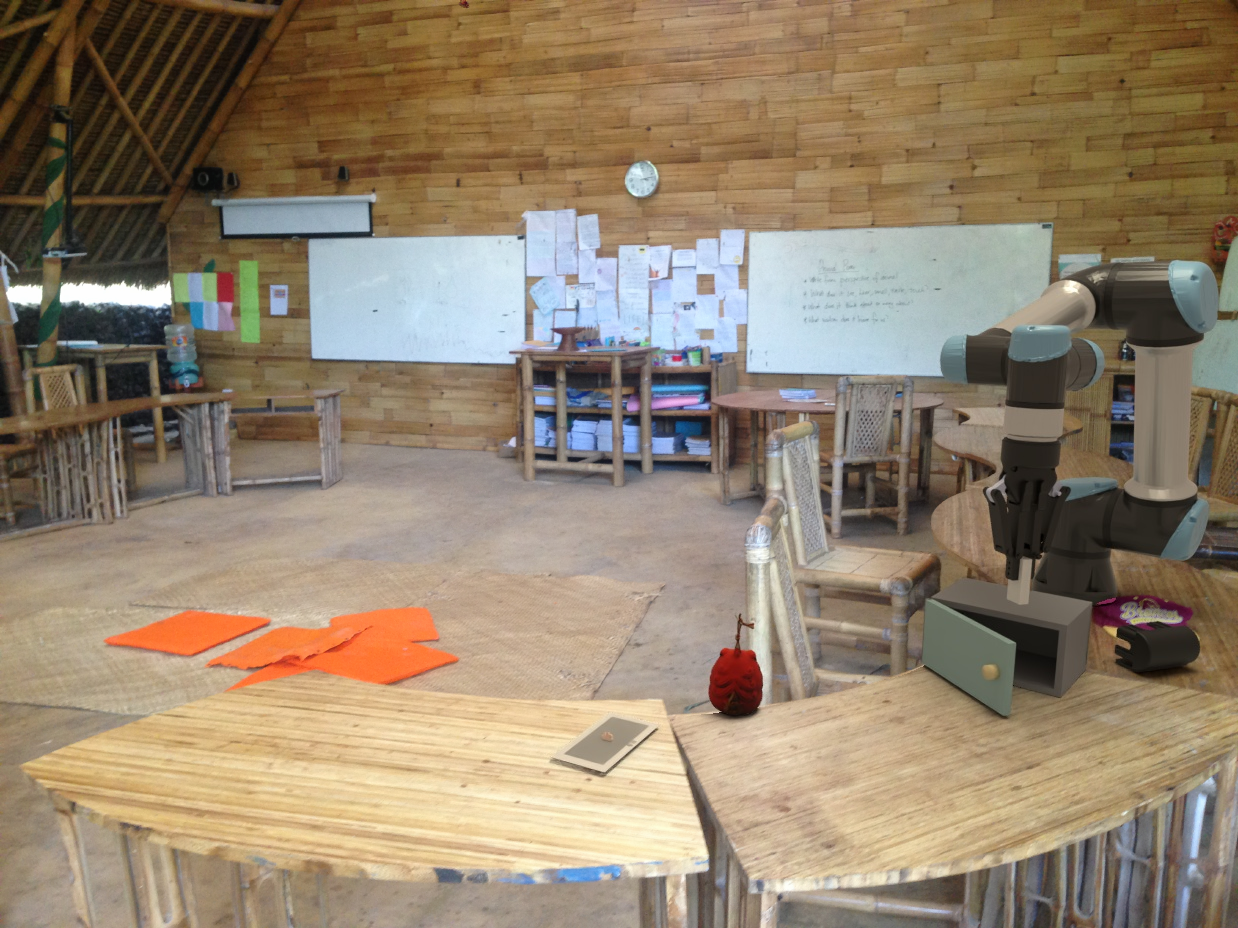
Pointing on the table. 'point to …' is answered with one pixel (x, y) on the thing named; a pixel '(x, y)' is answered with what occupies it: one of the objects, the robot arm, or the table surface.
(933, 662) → the pale green rectangular block
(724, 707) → the red clay folk toy
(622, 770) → the table surface
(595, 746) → the touchpad
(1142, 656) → the end cap
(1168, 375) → the robot arm
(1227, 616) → the table surface
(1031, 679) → the cabinet
